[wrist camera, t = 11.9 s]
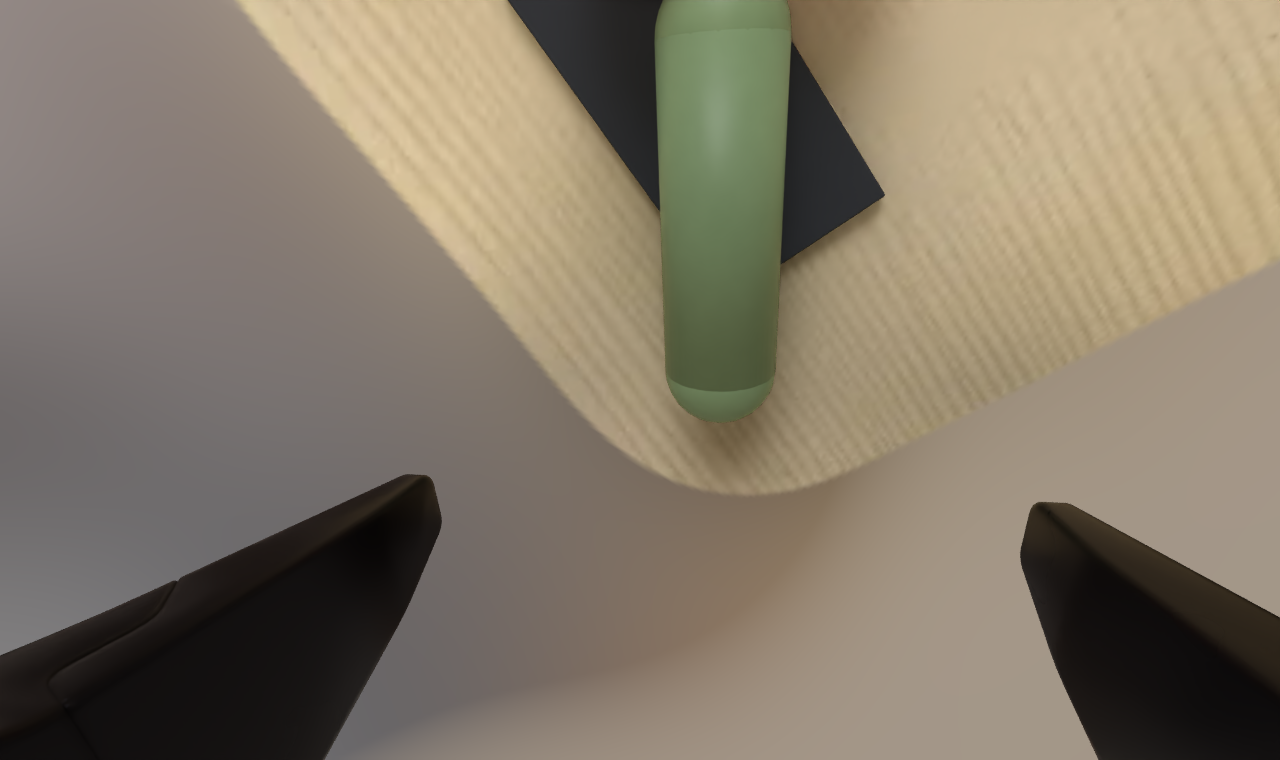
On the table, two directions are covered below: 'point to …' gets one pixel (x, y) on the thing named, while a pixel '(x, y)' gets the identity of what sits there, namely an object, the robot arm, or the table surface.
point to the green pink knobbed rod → (721, 197)
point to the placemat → (627, 111)
